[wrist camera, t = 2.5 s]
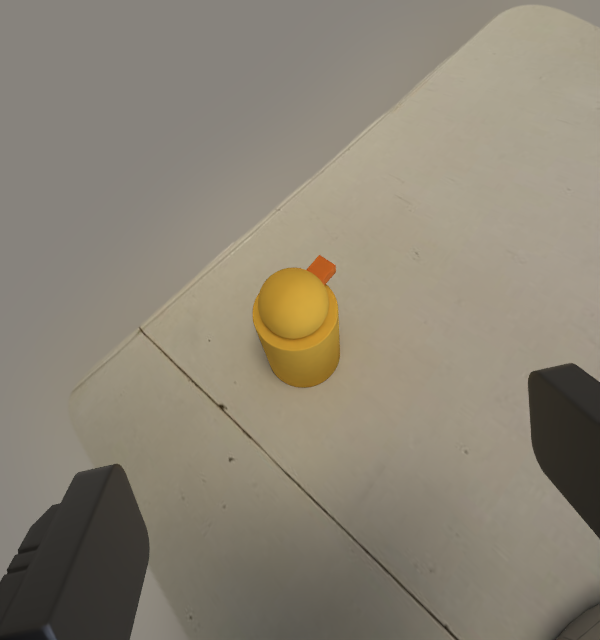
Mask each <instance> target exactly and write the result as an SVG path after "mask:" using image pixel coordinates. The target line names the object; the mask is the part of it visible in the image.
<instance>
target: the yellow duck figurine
mask: <svg viewBox="0 0 600 640" xmlns="http://www.w3.org/2000/svg"><path fill="white" fill-rule="evenodd" d="M335 272H336V266H335V265H334V264H333V263H331V262H330V261H328V260H326V259H325V258H323V257H322V256H320V255H319V256H318V257H317V258H316V259H315V261H314V262H313V263H312V264H311V265H310V266H309V267H308V269H307V270H304V269H301V268H286V269H282V270H280V271H277V272H276V273H274V274H273V275H271V276H270V277H269V278H268V279H267V280H266V281H265V283H264V284H263V286H262V288H261V290H260V293H259V294H258V296H257V298H256V300H255V303H254V306H253V322H254V325H255V328H256V331H257V333H258V336H259V338H260V341H261V343H262V346H263V348H264V351H265V353H266V356H267V358H268V361H269V363H270V366H271V368H272V370H273V372H274V373H275V375H276V376H277V377H278V378H279V379H280V380H282V381H283V382H285V383H287V384H289V385H291V386H295V387H312V386H315V385H318V384H320V383H322V382H324V381H325V380H326V379H328V378H329V377H330V376H331V375H332V374H333V372H334V371H335V369H336V367H337V365H338V362H339V357H340V344H339V319H338V304H337V300H336V298H335V295H334V294H333V292H332V290H331V289H330V288H329V287H328V286H327V285H326V283H327V282H328V281H329V279H330V278H331V277H332V276H333V275H334V274H335Z"/></svg>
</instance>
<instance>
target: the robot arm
mask: <svg viewBox="0 0 600 640" xmlns="http://www.w3.org/2000/svg"><path fill="white" fill-rule="evenodd" d="M528 391H529V407H530V423H531V439H532V446H533V450H534V453H535V456H536V459H537V461H538V463H539V465H540V467H541V469H542V470H543V472H544V473H545V475H546V476H547V477H548V478H549V479H550V480H551V482H552V483H553V484H554V485H555V486H556V488H557V489H558V490H559V491H560V492H561V493H562V495H563V496H564V497H565V498H566V499H567V501H568V502H569V503H570V504H571V505H572V506H573V508H574V509H575V510H576V511H577V512H578V514H579V515H580V516H581V517H582V518H583V520H584V521H585V522H586V523H587V524H588V525H589V527H590V528H591V529H592V530H593V531H594V533H595V534H596V535H597V536H598V537H599V538H600V382H599V381H597V380H596V379H595V378H593V377H592V376H590V375H589V374H588V373H586V372H585V371H584V370H582V369H581V368H580V367H578V366H577V365H575V364H573V363H568V364H564V365H559V366H555V367H550V368H546V369H542V370H537V371H533V372H531V373H530V375H529V378H528ZM148 561H149V538H148V532H147V528H146V525H145V523H144V520H143V517H142V515H141V512H140V510H139V507H138V504H137V502H136V499H135V497H134V494H133V491H132V489H131V486H130V484H129V481H128V478H127V476H126V473H125V471H124V469H123V468H122V467H121V466H120V465H119V464H113V465H109V466H104V467H100V468H95V469H91V470H87V471H82V472H79V473H77V474H76V475H75V476H74V478H73V480H72V482H71V484H70V486H69V488H68V490H67V492H66V494H65V496H64V498H63V500H62V502H61V503H60V504H56V505H52V506H51V507H50V508H49V509H48V510H47V511H46V512H45V513H44V514H43V515H42V516H41V517H40V518H39V519H38V520H37V521H36V523H35V524H33V525H32V526H31V528H30V529H29V531H28V533H27V535H26V537H25V538H24V540H23V542H22V544H21V546H20V547H19V549H18V554H17V555H15V556H14V558H13V560H12V562H11V563H10V565H9V567H8V569H7V572H8V573H7V574H6V575H4V576H3V578H2V580H1V582H0V640H130V636H131V632H132V627H133V623H134V619H135V615H136V611H137V607H138V603H139V598H140V594H141V590H142V586H143V582H144V578H145V574H146V569H147V565H148Z"/></svg>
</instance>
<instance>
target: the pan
mask: <svg viewBox="0 0 600 640" xmlns="http://www.w3.org/2000/svg"><path fill="white" fill-rule="evenodd" d="M555 640H600V603H599V604H598V605H596V606H594V607H592V608H591V609H589V610H587V611H585V612H584V613H582V614H581V615H580V616H579V617H578V618H576V619H575V620H574V621H573V622H571V623H570V624H569V625H568V626H567V627H566V628H565V629H564V631H563V632H562V633H561V634H560V635H559V636H558V637H557V638H556V639H555Z"/></svg>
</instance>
